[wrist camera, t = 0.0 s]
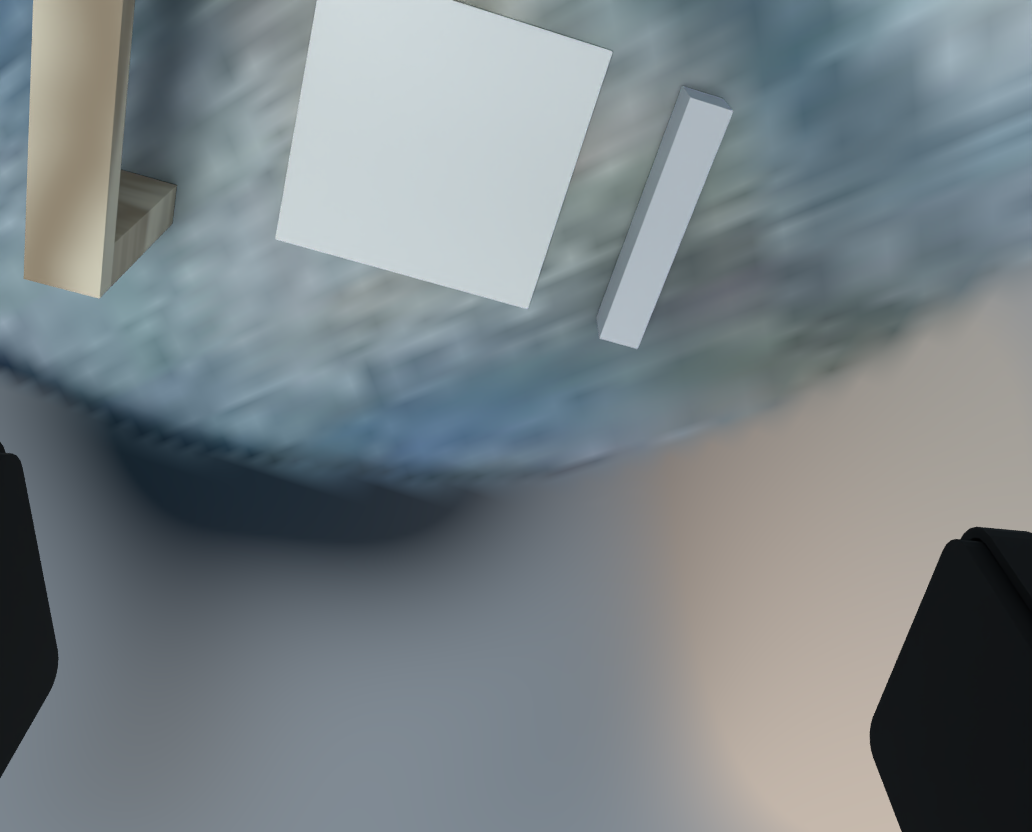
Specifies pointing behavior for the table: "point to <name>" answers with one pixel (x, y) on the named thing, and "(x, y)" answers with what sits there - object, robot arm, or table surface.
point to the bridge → (85, 151)
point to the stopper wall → (662, 215)
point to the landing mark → (437, 141)
